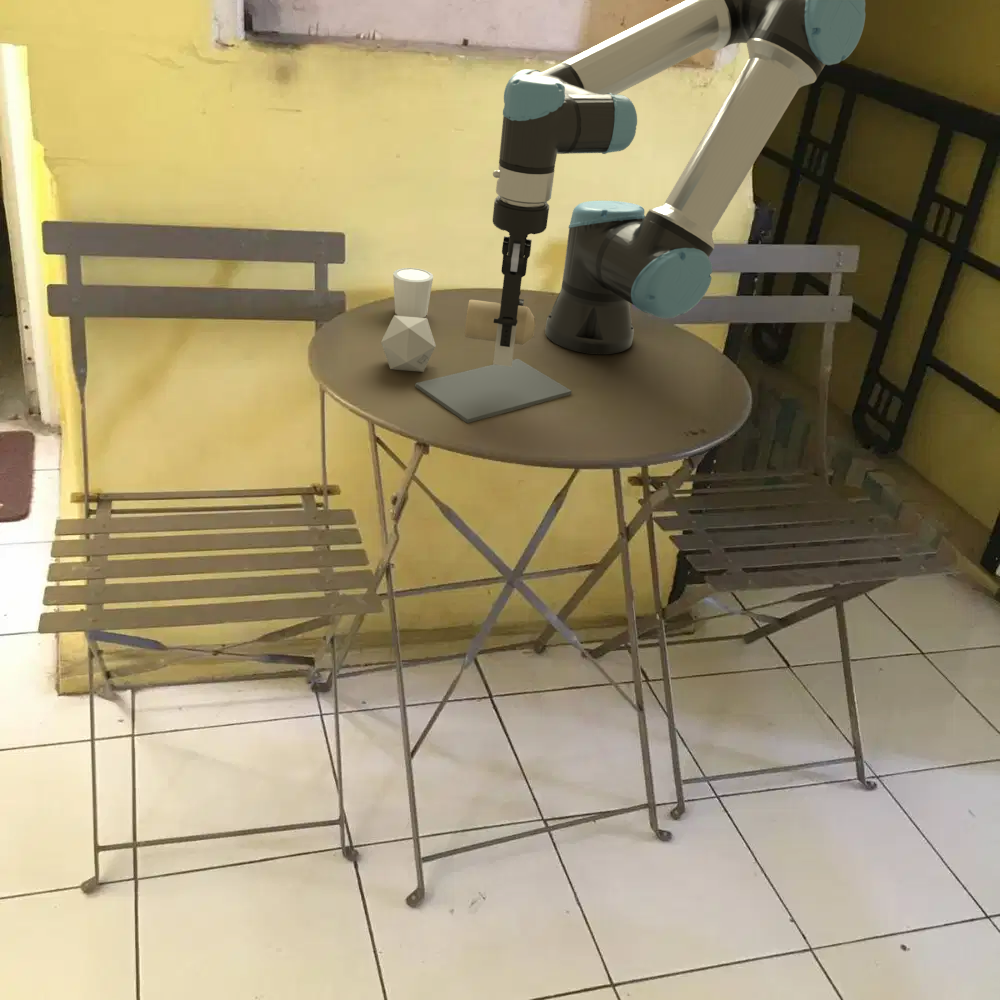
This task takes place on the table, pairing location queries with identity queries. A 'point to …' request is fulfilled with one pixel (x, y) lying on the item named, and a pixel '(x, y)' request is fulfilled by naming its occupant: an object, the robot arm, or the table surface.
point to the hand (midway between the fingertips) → (503, 355)
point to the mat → (492, 390)
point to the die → (408, 343)
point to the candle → (486, 329)
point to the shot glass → (412, 292)
